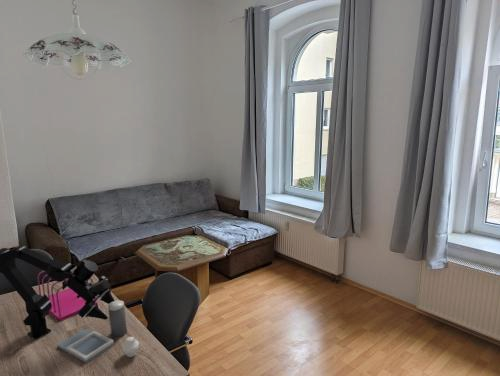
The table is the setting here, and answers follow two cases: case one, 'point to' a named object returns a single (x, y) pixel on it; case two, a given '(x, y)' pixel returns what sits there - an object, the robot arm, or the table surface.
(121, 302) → the grey cup with lid
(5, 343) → the table surface
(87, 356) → the charging board
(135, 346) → the muffin
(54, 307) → the file sorter
